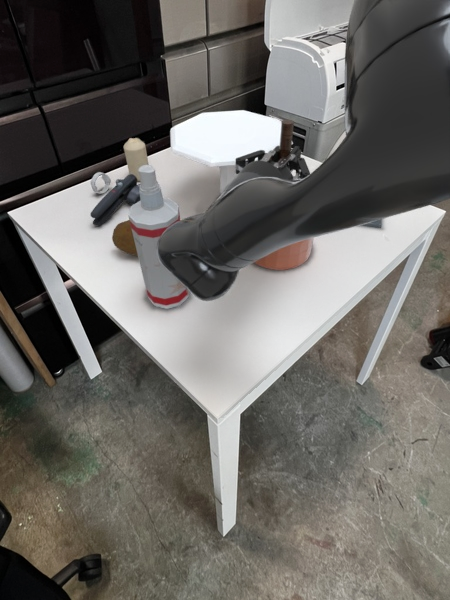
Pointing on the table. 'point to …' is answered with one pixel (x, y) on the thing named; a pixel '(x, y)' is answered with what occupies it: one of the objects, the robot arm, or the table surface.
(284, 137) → the stirrer
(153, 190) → the spray bottle
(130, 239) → the potato
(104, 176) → the wristwatch
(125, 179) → the can opener
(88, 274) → the table surface
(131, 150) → the candle
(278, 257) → the bowl
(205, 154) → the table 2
